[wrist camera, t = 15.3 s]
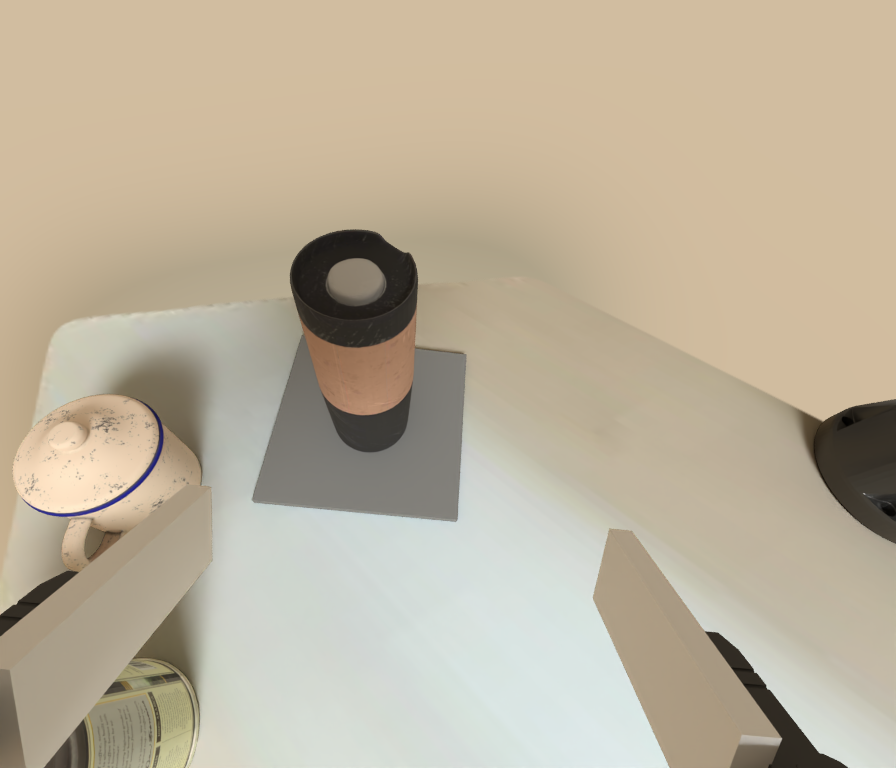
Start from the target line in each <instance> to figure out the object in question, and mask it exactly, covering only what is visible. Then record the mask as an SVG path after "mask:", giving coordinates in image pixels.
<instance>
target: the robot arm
mask: <svg viewBox="0 0 896 768" xmlns="http://www.w3.org/2000/svg"><path fill="white" fill-rule="evenodd" d="M815 455H816V459H817V463H818V466H819V469H820V471H821V473H822V475H823V477H824V479H825V481H826V483H827V485H828V486H829V488H830V489H831V491H832V492H833V494H834V495H835V496H836V498H837V499H838V500H839V501H840V502H841V504H842V505H843V506H844V507H845V508H846V509H847V510H848V511H849V512H850V513H851V514H852V515H853V516H854V517H855V518H856V519H857V520H859V521H860V522H861V523H862V524H864V525H865V526H866V527H868V528H869V529H870V530H872V531H873V532H875V533H877V534H878V535H880V536H882V537H883V538H885V539H887V540H889V541H891V542H894V543H896V399H894V400H888V401H883V402H877V403H871V404H865V405H859V406H854V407H851V408H848V409H846V410H844V411H842V412H840V413H838V414H836V415H834V416H832V417H830V418H828V419H827V420H825V421H824V422H823V423H822V424H821V425H820V427H819V429H818V431H817V433H816V437H815ZM211 562H212V505H211V487H208V486H198V485H189V484H187V485H186V486H185V487H183V488H182V489H181V490H180V491H178V492H177V493H176V494H175V495H173V496H172V497H171V498H170V499H169V500H167V501H166V502H165V503H164V504H162V505H161V506H160V507H159V508H158V509H156V510H155V511H154V512H153V513H151V514H150V515H149V516H148V517H146V518H145V519H144V520H143V521H142V522H140V523H139V524H138V525H137V526H135V527H134V528H133V529H132V530H130V531H129V532H128V533H127V534H126V535H124V536H123V537H122V538H121V539H119V540H118V541H117V542H116V543H115V544H113V545H112V546H111V547H110V548H108V549H107V550H106V551H105V552H103V553H102V554H101V555H100V556H99V557H97V558H96V559H95V560H94V561H92V562H91V563H90V564H89V565H88V566H86V567H85V568H84V569H83V570H81V571H80V572H73V571H66V572H64V573H62V574H60V575H58V576H56V577H54V578H52V579H50V580H48V581H46V582H44V583H42V584H40V585H39V586H37V587H36V588H35V589H33V590H32V591H31V592H30V593H28V594H27V595H26V596H24V597H23V598H22V599H20V600H19V601H18V603H17V605H13V606H11V607H10V608H9V609H7V610H6V611H5V612H3V613H2V614H1V615H0V768H44V767H45V766H46V764H47V763H48V762H49V761H50V759H51V758H52V757H53V756H54V755H55V753H56V752H57V751H58V750H59V748H60V747H61V746H62V745H63V743H64V742H65V741H66V740H67V739H68V737H69V736H70V735H71V734H72V732H73V731H74V730H75V729H76V728H77V726H78V725H79V724H80V723H81V721H82V720H83V719H84V718H85V716H86V715H87V714H88V713H89V712H90V710H91V709H92V708H93V707H94V705H95V704H96V703H97V702H98V700H99V699H100V698H101V697H102V696H103V694H104V693H105V692H106V691H107V689H108V688H109V687H110V686H111V685H112V683H113V682H114V681H115V680H116V678H117V677H118V676H119V675H120V673H121V672H122V671H123V670H124V669H125V667H126V666H127V665H128V664H129V662H130V661H131V660H132V659H133V657H134V656H135V655H136V654H137V653H138V651H139V650H140V649H141V648H142V646H143V645H144V644H145V643H146V641H147V640H148V639H149V638H150V637H151V635H152V634H153V633H154V632H155V630H156V629H157V628H158V627H159V626H160V624H161V623H162V622H163V621H164V619H165V618H166V617H167V616H168V614H169V613H170V612H171V611H172V610H173V608H174V607H175V606H176V605H177V603H178V602H179V601H180V600H181V598H182V597H183V596H184V595H185V594H186V592H187V591H188V590H189V589H190V587H191V586H192V585H193V584H194V583H195V581H196V580H197V579H198V578H199V576H200V575H201V574H202V573H203V571H204V570H205V569H206V568H207V567H208V565H209V564H210V563H211ZM593 600H594V602H595V604H596V606H597V608H598V611H599V613H600V615H601V617H602V620H603V622H604V624H605V626H606V628H607V631H608V633H609V635H610V637H611V639H612V642H613V644H614V646H615V648H616V650H617V653H618V655H619V657H620V659H621V661H622V664H623V666H624V668H625V670H626V672H627V675H628V677H629V679H630V681H631V684H632V686H633V688H634V690H635V692H636V695H637V697H638V699H639V701H640V703H641V706H642V708H643V710H644V712H645V714H646V717H647V719H648V721H649V723H650V725H651V728H652V730H653V732H654V734H655V736H656V739H657V741H658V743H659V745H660V747H661V750H662V752H663V754H664V756H665V759H666V761H667V763H668V765H669V767H670V768H848V767H846V766H845V765H844V764H842V763H841V762H839V761H837V760H835V759H833V758H831V757H829V756H826V755H824V754H820V753H819V752H818V751H817V750H816V749H815V747H814V746H813V745H812V744H811V742H810V741H809V740H808V738H807V737H806V736H805V735H804V733H803V732H802V731H801V729H800V728H799V727H798V726H797V724H796V723H795V722H794V720H793V719H792V718H791V717H790V715H789V714H788V713H787V711H786V710H785V709H784V708H783V706H782V705H781V704H780V702H779V701H778V700H777V699H776V697H775V696H774V695H773V693H772V692H771V691H770V690H767V688H766V684H765V683H764V682H763V681H762V679H761V678H760V677H759V675H758V674H757V673H754V669H753V668H752V666H751V665H750V664H749V663H748V661H747V660H746V659H745V657H744V656H743V655H742V654H741V652H740V651H739V650H738V649H737V648H736V647H735V646H733V645H732V644H731V643H730V642H729V641H727V640H726V639H725V638H724V637H723V636H721V635H720V634H719V633H716V632H705V631H704V630H703V628H702V627H701V626H700V624H699V623H698V622H697V620H696V619H695V617H694V616H693V615H692V613H691V612H690V611H689V609H688V608H687V606H686V605H685V604H684V602H683V601H682V599H681V598H680V597H679V595H678V594H677V593H676V591H675V590H674V588H673V587H672V586H671V584H670V583H669V582H668V580H667V579H666V577H665V576H664V575H663V573H662V572H661V570H660V569H659V568H658V566H657V565H656V564H655V562H654V561H653V559H652V558H651V557H650V555H649V554H648V552H647V551H646V550H645V548H644V547H643V546H642V544H641V543H640V541H639V540H638V539H637V537H636V536H635V535H634V533H633V532H632V531H628V530H618V529H609V533H608V537H607V541H606V545H605V549H604V553H603V558H602V562H601V566H600V570H599V574H598V578H597V583H596V587H595V591H594V595H593Z"/></svg>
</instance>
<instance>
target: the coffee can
mask: <svg viewBox="0 0 896 768" xmlns="http://www.w3.org/2000/svg"><path fill="white" fill-rule="evenodd" d="M198 731H199V707H198V703H197V700H196V696H195V693H194V690H193V688H192V686H191V684H190V682H189V681H188V679H187V678H186V677H185V675H184V674H183V673H182V672H181V671H180V670H178V669H177V668H176V667H174V666H173V665H171V664H170V663H167V662H164V661H161V660H157V659H151V658H137V659H132V660H131V661H130V662H129V664H128V665H127V666H126V667H125V669H124V670H123V671H122V672H121V673H120V675H119V676H118V677H117V678H116V680H115V681H114V682H113V683H112V685H111V686H110V687H109V688H108V689H107V691H106V692H105V693H104V694H103V696H102V697H101V698H100V699H99V700H98V702H97V703H96V704H95V705H94V707H93V708H92V709H91V710H90V712H89V713H88V714H87V715H86V716H85V718H84V719H83V720H82V721H81V723H80V724H79V725H78V726H77V728H76V729H75V730H74V731H73V732H72V734H71V735H70V736H69V737H68V739H67V740H66V741H65V742H64V743H63V745H62V746H61V747H60V748H59V750H58V751H57V752H56V753H55V755H54V756H53V757H52V758H51V759H50V761H49V762H48V763H47V764H46V766H45V767H44V768H189V766H190V764H191V761H192V758H193V756H194V752H195V748H196V744H197V739H198Z"/></svg>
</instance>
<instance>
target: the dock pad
mask: <svg viewBox="0 0 896 768" xmlns="http://www.w3.org/2000/svg"><path fill="white" fill-rule="evenodd" d="M465 370H466V354H458V353H449V352H441V351H432V350H424V349H415V354H414V375H413V384H412V392H411V400H410V408H409V416H408V423H407V427H406V430H405V432H404V434H403V435H402V437H401V438H400V439H399V440H398V441H397V442H396V443H395V444H394V445H393V446H391V447H389V448H387V449H385V450H382V451H379V452H361V451H358V450H355V449H353V448H351V447H349V446H348V445H346V444H345V443H344V442H343V441H342V440H341V438H340V437H339V435H338V433H337V431H336V429H335V426H334V424H333V421H332V419H331V416H330V413H329V411H328V408H327V405H326V403H325V400H324V397H323V395H322V392H321V390H320V387H319V383H318V380H317V376H316V373H315V369H314V366H313V362H312V359H311V355H310V352H309V348H308V345H307V342H306V338H305V335H302V337H301V340H300V343H299V347H298V350H297V353H296V357H295V360H294V363H293V367H292V370H291V373H290V376H289V380H288V383H287V386H286V390H285V393H284V396H283V399H282V403H281V406H280V409H279V413H278V416H277V419H276V422H275V426H274V429H273V432H272V436H271V439H270V442H269V445H268V449H267V452H266V455H265V459H264V462H263V465H262V468H261V472H260V475H259V478H258V482H257V485H256V488H255V491H254V495H253V498H252V501H253V502H254V503H264V504H275V505H285V506H296V507H306V508H317V509H327V510H338V511H349V512H359V513H370V514H380V515H391V516H401V517H412V518H422V519H433V520H443V521H454V522H456V521H457V517H458V499H459V480H460V462H461V444H462V425H463V407H464V389H465Z"/></svg>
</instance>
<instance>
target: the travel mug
mask: <svg viewBox="0 0 896 768" xmlns="http://www.w3.org/2000/svg"><path fill="white" fill-rule="evenodd" d="M290 284H291V289H292V293H293V296H294V300H295V303H296V307H297V310H298V313H299V317H300V321H301V324H302V328H303V331H304V335H305V338H306V342H307V345H308V348H309V352H310V355H311V359H312V362H313V366H314V369H315V373H316V376H317V380H318V383H319V387H320V390H321V392H322V395H323V397H324V400H325V403H326V405H327V408H328V411H329V413H330V416H331V419H332V421H333V424H334V426H335V429H336V431H337V433H338V435H339V437H340V438H341V440H342V441H343V442H344V443H345V444H346V445H348V446H349V447H351V448H353V449H355V450H358V451H361V452H379V451H382V450H385V449H387V448H389V447H391V446H393V445H394V444H395V443H396V442H397V441H398V440H399V439H400V438H401V437H402V435H403V434H404V432H405V430H406V427H407V423H408V416H409V408H410V400H411V392H412V384H413V375H414V354H415V332H416V311H417V289H418V275H417V268H416V264H415V262H414V260H413V258H412V256H411V254H410V253H404V252H402V251H400V250H398V249H397V248H395V247H393V246H392V245H390V244H389V243H388V242H386V241H385V240H384V238H383V237H382V236H381V235H380V234H378V233H376V232H373V231H368V230H342V231H336V232H332V233H329V234H326V235H323V236H321V237H319V238H316V239H315V240H313V241H312V242H310V243H309V244H307V245H306V246H305V247H304V248H303V249H302V250H301V251H300V252H299V253H298V255H297V256H296V258H295V259H294V261H293V264H292V267H291V272H290Z"/></svg>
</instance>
